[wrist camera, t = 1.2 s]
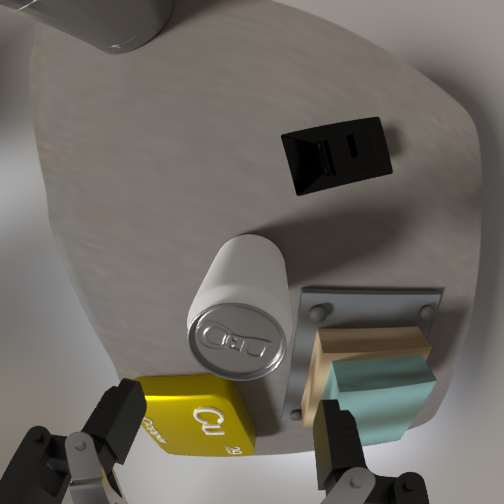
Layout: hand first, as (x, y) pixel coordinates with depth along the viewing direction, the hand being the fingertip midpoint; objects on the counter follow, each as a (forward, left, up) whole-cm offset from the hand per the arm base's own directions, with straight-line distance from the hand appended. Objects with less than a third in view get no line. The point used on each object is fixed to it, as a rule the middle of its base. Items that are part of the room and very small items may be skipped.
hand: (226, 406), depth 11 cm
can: (0, 0, -17) cm, 17 cm away
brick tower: (+12, +13, -16) cm, 24 cm away
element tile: (+23, -7, -17) cm, 29 cm away
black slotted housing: (-11, +7, -17) cm, 22 cm away
